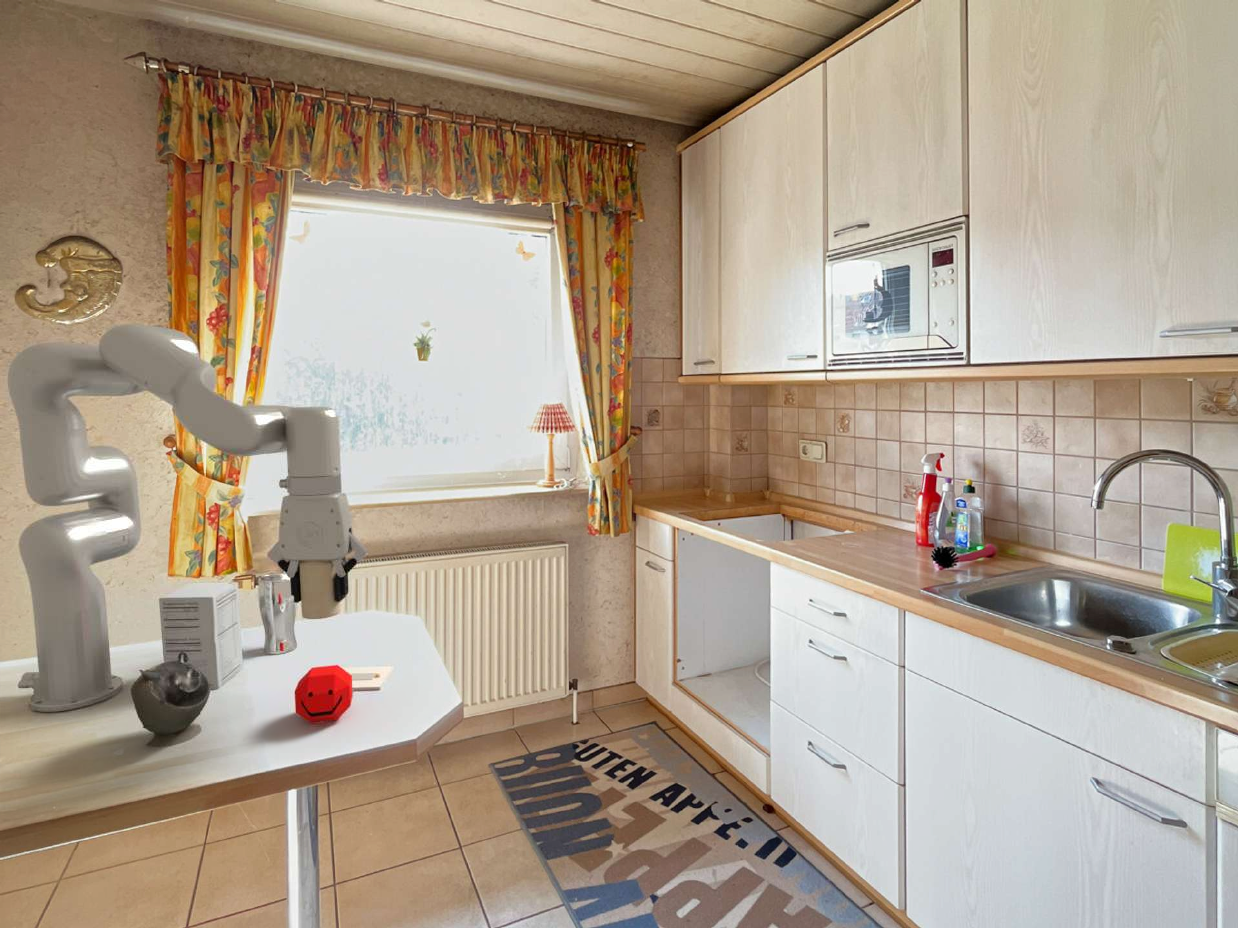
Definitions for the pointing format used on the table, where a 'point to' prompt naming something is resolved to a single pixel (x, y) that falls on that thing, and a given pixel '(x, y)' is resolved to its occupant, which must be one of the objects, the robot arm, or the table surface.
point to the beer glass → (277, 613)
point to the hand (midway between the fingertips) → (320, 598)
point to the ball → (323, 694)
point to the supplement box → (204, 629)
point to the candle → (318, 589)
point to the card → (369, 677)
